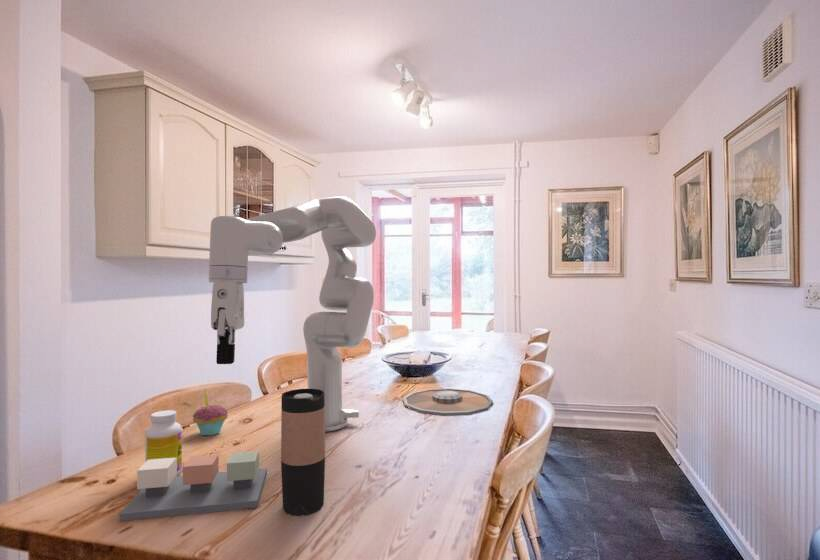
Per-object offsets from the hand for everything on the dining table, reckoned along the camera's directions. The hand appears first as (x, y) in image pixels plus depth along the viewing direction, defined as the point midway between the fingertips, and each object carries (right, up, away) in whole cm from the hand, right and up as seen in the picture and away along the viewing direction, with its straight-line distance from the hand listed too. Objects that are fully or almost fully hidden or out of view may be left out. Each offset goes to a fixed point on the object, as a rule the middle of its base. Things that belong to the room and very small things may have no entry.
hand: (225, 363), depth 92 cm
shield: (+51, -24, +55) cm, 79 cm away
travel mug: (+20, -23, -13) cm, 33 cm away
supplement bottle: (-13, -23, 0) cm, 27 cm away
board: (-1, -23, -9) cm, 25 cm away
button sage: (+7, -20, -8) cm, 22 cm away
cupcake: (-15, -24, +26) cm, 38 cm away
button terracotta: (-1, -20, -9) cm, 22 cm away
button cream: (-8, -20, -11) cm, 24 cm away
